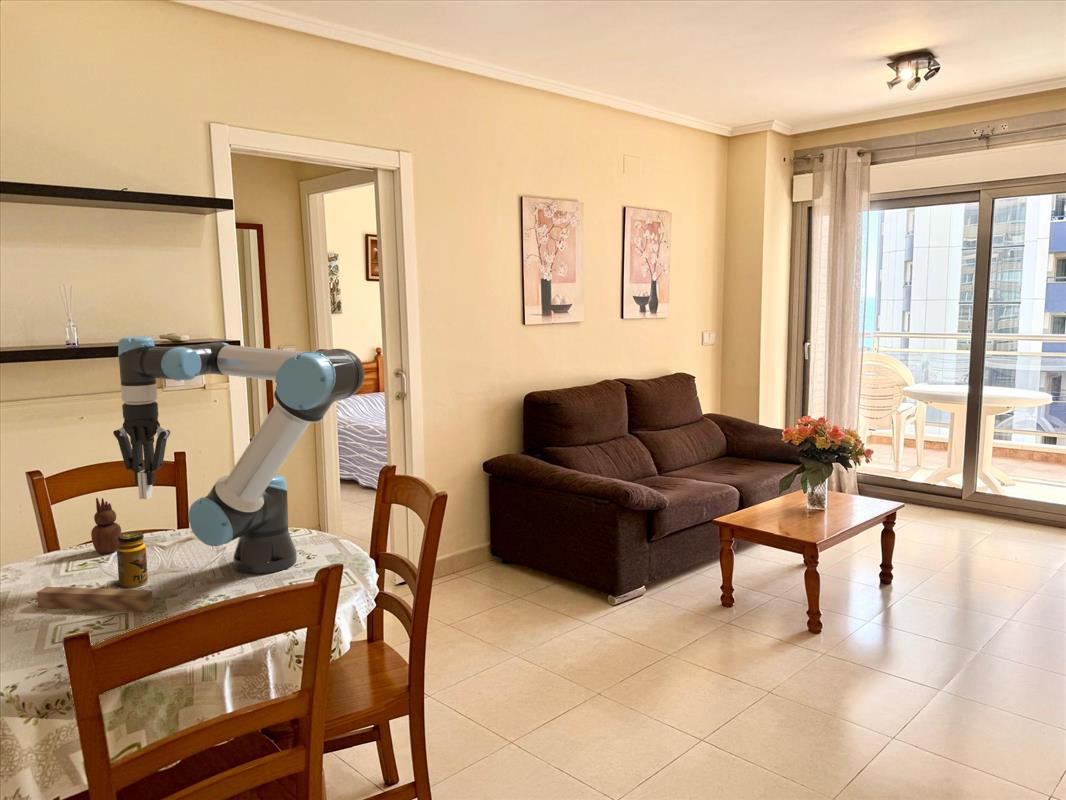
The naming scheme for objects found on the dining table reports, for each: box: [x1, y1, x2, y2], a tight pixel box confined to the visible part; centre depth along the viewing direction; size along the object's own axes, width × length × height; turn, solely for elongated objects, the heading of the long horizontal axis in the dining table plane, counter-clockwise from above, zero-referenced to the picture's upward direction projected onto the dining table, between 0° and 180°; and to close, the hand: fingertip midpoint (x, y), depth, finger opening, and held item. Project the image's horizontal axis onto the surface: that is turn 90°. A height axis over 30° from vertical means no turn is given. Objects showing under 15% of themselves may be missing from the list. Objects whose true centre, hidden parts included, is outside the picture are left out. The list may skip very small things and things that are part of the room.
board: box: [36, 586, 154, 613], centre depth 163 cm, size 24×3×4 cm, turn 87°
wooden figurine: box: [90, 497, 122, 554], centre depth 196 cm, size 7×6×15 cm
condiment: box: [107, 531, 152, 590], centre depth 175 cm, size 7×8×12 cm
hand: (146, 497), depth 182 cm, fingers closed
